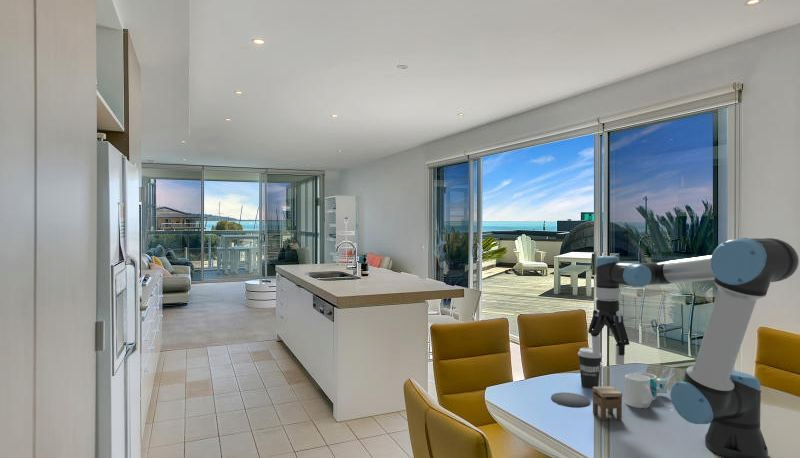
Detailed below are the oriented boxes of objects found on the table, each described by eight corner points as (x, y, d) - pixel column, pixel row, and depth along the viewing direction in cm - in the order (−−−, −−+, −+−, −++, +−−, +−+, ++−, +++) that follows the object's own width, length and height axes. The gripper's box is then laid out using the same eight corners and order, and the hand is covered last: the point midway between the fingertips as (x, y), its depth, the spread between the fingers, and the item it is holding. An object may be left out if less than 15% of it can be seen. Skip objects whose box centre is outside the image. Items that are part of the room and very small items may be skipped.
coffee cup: (572, 384, 198) (572, 348, 198) (589, 381, 202) (589, 346, 202) (590, 391, 189) (590, 354, 189) (607, 388, 193) (607, 351, 193)
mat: (597, 406, 173) (597, 405, 173) (560, 407, 172) (560, 406, 172) (579, 393, 187) (579, 392, 187) (545, 394, 186) (545, 392, 186)
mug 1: (661, 412, 168) (661, 383, 168) (639, 413, 167) (639, 384, 167) (641, 400, 180) (641, 373, 180) (620, 401, 179) (620, 373, 179)
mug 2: (629, 393, 188) (629, 372, 188) (657, 392, 189) (657, 371, 189) (642, 400, 179) (642, 378, 179) (671, 399, 181) (671, 377, 181)
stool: (622, 420, 161) (622, 393, 161) (602, 420, 160) (602, 393, 160) (611, 412, 168) (611, 386, 168) (592, 412, 167) (592, 386, 167)
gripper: (640, 304, 157) (640, 368, 157) (596, 294, 181) (596, 349, 181) (620, 305, 155) (620, 369, 155) (578, 295, 180) (578, 350, 180)
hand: (607, 359), depth 168 cm, fingers open, 13 cm apart
